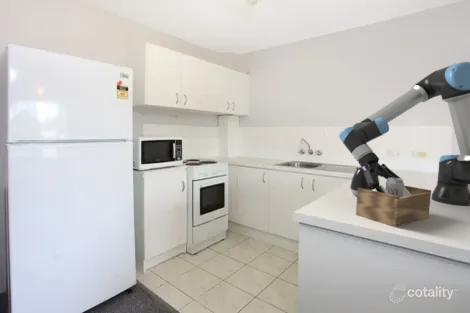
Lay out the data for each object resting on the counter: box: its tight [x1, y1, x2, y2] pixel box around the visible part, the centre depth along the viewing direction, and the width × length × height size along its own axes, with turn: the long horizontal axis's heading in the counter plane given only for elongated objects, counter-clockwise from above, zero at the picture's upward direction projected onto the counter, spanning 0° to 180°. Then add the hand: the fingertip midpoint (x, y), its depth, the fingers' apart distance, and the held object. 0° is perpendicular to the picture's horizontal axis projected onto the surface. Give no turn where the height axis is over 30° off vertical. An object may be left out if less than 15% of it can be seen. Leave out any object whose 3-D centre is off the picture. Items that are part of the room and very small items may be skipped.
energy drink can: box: [384, 177, 405, 197], centre depth 100 cm, size 6×6×15 cm
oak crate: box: [355, 185, 432, 228], centre depth 100 cm, size 15×24×11 cm, turn 120°
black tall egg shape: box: [349, 166, 373, 197], centre depth 133 cm, size 10×10×15 cm
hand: (399, 199), depth 98 cm, fingers open, 13 cm apart
